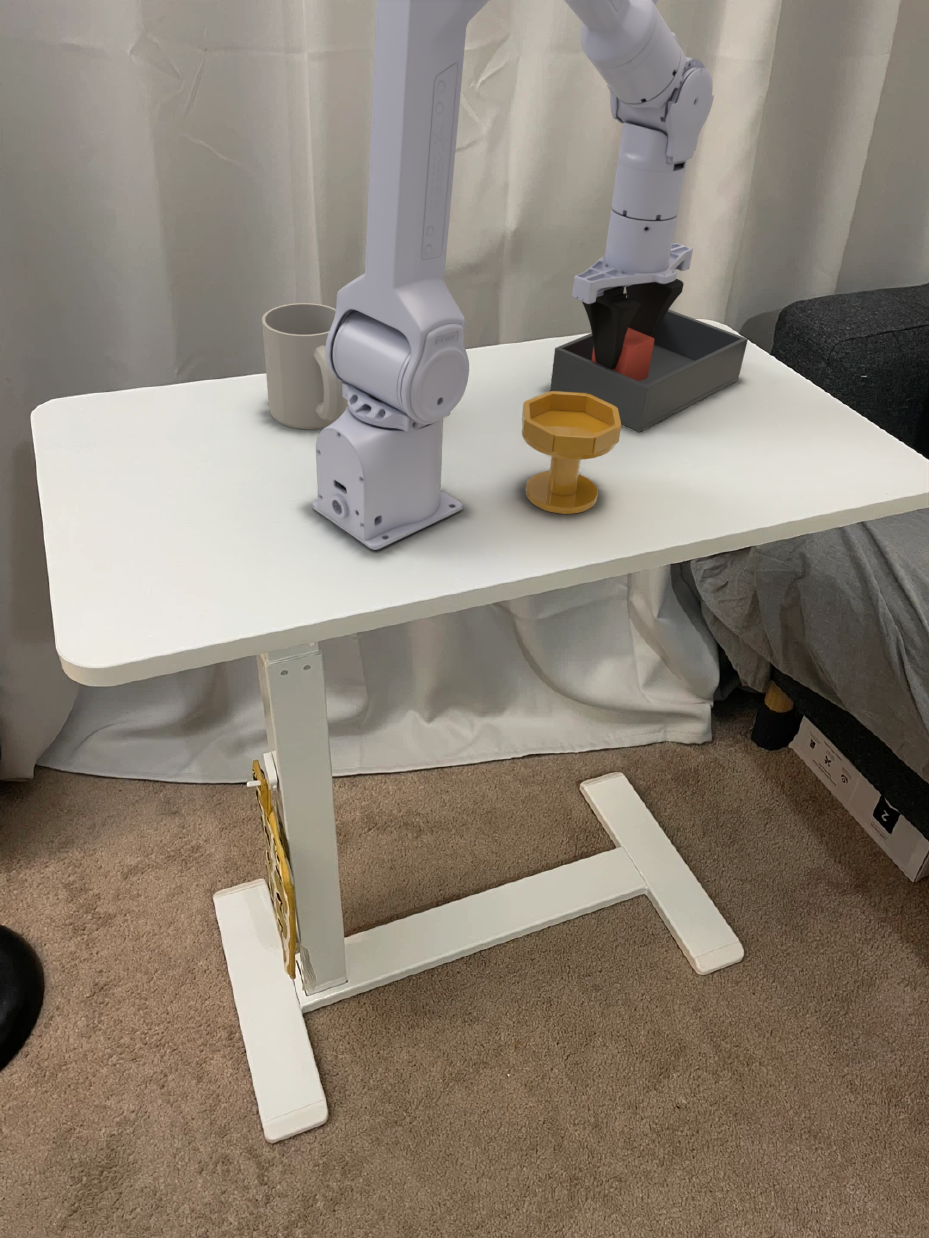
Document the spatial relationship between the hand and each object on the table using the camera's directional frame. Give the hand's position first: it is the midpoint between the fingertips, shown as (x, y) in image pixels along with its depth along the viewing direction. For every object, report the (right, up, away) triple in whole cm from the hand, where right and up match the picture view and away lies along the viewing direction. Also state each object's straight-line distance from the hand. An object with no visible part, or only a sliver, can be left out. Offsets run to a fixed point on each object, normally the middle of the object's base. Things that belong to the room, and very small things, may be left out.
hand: (620, 358), depth 95 cm
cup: (-29, -6, -3) cm, 29 cm away
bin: (+3, -1, +6) cm, 7 cm away
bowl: (-7, -14, -11) cm, 19 cm away
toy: (0, -1, +1) cm, 2 cm away
